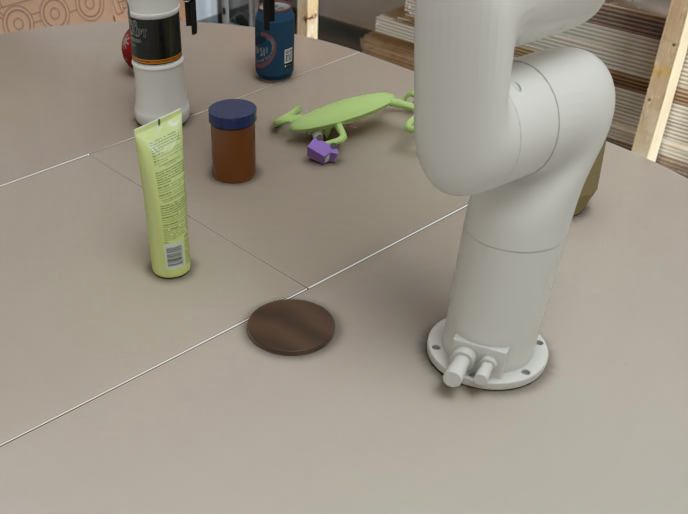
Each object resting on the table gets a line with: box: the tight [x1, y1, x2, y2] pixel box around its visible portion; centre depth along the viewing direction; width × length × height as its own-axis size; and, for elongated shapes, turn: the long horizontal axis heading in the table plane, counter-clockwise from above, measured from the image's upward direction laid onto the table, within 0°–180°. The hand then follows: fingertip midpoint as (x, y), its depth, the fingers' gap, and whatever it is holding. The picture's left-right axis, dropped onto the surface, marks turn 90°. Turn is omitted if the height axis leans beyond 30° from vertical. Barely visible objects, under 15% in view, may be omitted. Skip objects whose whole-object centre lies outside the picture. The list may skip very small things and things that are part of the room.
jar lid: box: [207, 98, 258, 130], centre depth 117 cm, size 7×7×2 cm
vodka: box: [125, 0, 191, 126], centre depth 128 cm, size 9×9×30 cm
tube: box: [133, 108, 192, 279], centre depth 98 cm, size 6×5×20 cm
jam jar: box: [210, 122, 257, 184], centre depth 120 cm, size 6×6×9 cm
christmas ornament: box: [121, 28, 133, 70], centre depth 150 cm, size 9×9×10 cm
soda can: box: [254, 0, 296, 83], centre depth 145 cm, size 7×7×12 cm
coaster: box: [247, 298, 336, 356], centre depth 94 cm, size 10×10×1 cm
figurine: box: [272, 88, 414, 165], centre depth 127 cm, size 18×27×6 cm
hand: (230, 29), depth 109 cm, fingers open, 9 cm apart
